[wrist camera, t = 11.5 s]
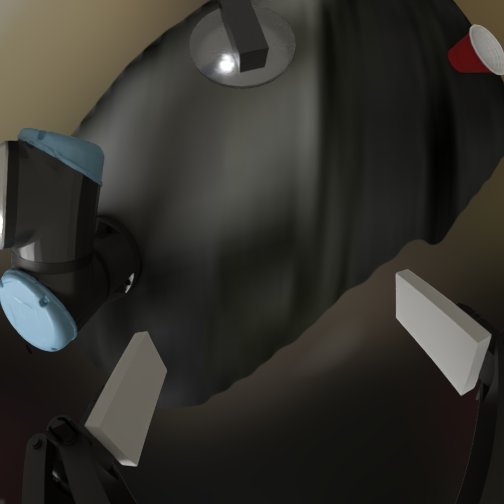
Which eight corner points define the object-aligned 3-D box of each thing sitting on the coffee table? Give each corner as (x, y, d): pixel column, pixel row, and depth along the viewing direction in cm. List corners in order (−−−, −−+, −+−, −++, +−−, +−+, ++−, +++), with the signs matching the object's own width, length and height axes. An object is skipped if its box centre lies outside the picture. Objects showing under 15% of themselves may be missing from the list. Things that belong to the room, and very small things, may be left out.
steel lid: (204, 101, 29) (194, 84, 22) (181, 22, 26) (169, -4, 19) (307, 76, 29) (322, 56, 22) (276, 1, 25) (282, -28, 18)
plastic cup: (431, 34, 32) (464, 16, 21) (463, 44, 32) (496, 32, 21) (446, 79, 36) (484, 68, 24) (476, 86, 35) (512, 80, 24)
